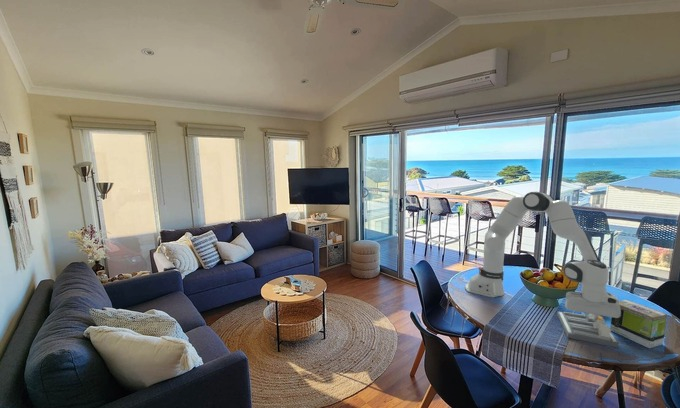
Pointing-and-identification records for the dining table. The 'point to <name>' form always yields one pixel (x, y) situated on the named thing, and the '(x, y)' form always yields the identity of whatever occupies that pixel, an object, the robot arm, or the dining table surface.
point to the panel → (586, 329)
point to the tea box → (640, 324)
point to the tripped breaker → (598, 322)
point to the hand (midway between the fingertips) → (590, 321)
